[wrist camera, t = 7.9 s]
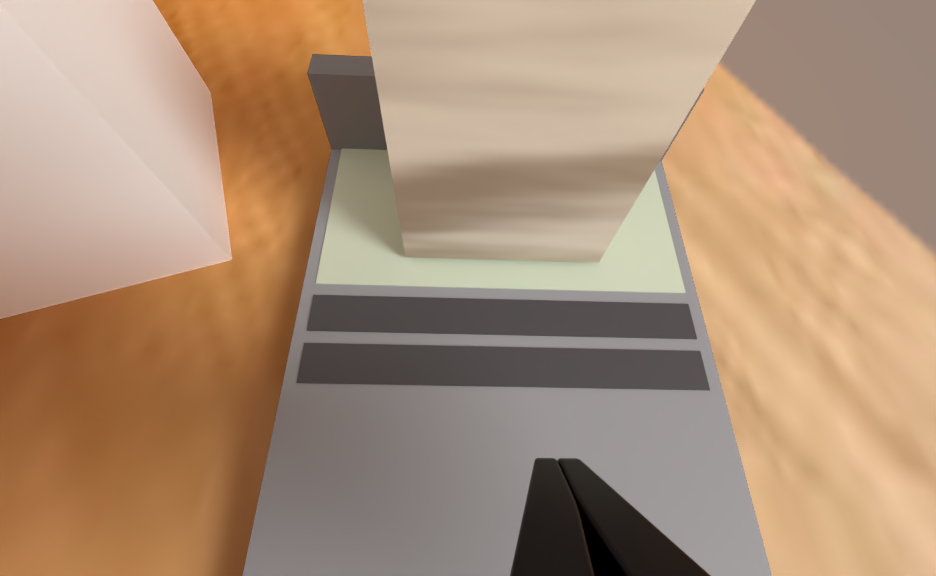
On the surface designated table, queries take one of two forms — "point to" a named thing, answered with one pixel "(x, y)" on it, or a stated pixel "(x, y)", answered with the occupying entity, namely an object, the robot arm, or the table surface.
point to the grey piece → (484, 385)
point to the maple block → (534, 115)
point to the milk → (101, 153)
